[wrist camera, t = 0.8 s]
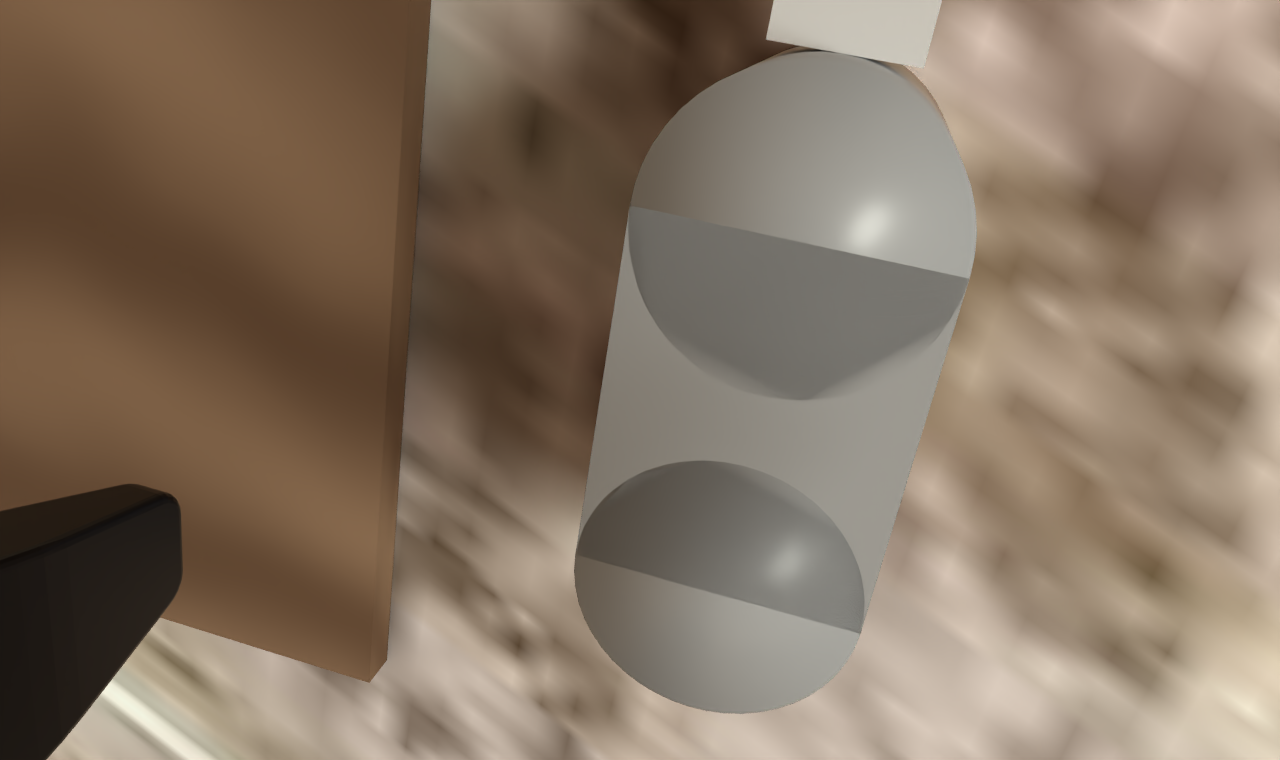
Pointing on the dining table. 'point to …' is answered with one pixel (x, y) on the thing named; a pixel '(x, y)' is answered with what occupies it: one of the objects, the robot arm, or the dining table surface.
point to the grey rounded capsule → (773, 360)
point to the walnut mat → (219, 291)
